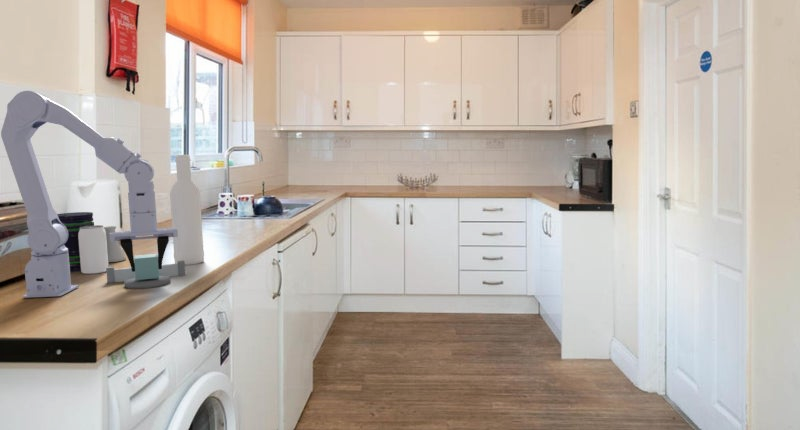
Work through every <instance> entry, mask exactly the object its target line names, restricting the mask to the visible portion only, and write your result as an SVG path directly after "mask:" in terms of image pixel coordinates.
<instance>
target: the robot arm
mask: <svg viewBox="0 0 800 430" xmlns="http://www.w3.org/2000/svg"><path fill="white" fill-rule="evenodd" d="M6 105H7V106H6V114H5V117H4V121H3V124H2V128H1V132H0V137H1V139H2V143H3V147H4V148H5V151H6V154H7V158H8V160H9V161H8V162H9V164H10V166H11V169H12V172H13V175H14V179H15V181H16V183H17V187H18V190H19V194H20V196H21V199H22V201H23V202H22V203H23V205H24V209H25V211H26V215H27V216H26V227H27V229H28V234H27V245H28V246H29V248H30V249H31V251H30V255H31V258H30V260H29V261H28V262H27V263H26V264H25V267H24V276H25V277H24V278H25V288H26V289H25V290H26V294H23V295H22V298H24V299H25V298H27V299H29V298H47V297H49V298H50V297H62V296H63V295H65V294H68V293H69V292H71V291H73V290H75V289H77V288H79V287H80V285H79V284H72V278H71V272H70V264H69V253H68V248H66V247H65V245H64V244H65V243H66V241H67V240H68V235H69V234H68V230H67V228H66V227H65V226H64V225H63V224H62V223H61V222H60V220H59V217H58V215H57V214H58V213H57V211H55V209H54V207H53V205H52V201H51V199H50V196H49V193H48V190H47V187H46V184H45V180H44V177H43V175H42V171H41V169H40V165H39V162H38V160H37V155H36V154H35V151H34V150H35V149H34V147H33V145H32V140H31V139H32V138H33V136H34V134H35V133H36V132H37V130H38V129H39V128H40V127H41V126H43V125H45V124H46V123H49V124H50V123H51V124H53V125H59V126H62V127H64V128H65V129H66V130H69V132H71V133H72V134H74V135H75V136H76V137H78V138H79V139H81V140H82V141H84V142H85V143H86V144H88V145H89V146H91V147H93V148H94V151H95V152H94V153H95V157H96V158H98V159H99V160H100V161H102V162H103V163H104V164H106V165H108V167H110V168H111V169H112V170H114V171H116V172H117V173H118V174H119V175H120V174H123V175H124V177H125V180H126V181H127V182H128V183H127V184H128V194H127V195H128V196H127V199H128V209H129V210H128V212H129V225H130V230H126V231H115V232H113V233H110V242H115V241H118V242H119V245H120V247H121V249H122V251H123V252H124V253H125V255H126V258H127V259H128V261H129V264H130V268H131V269H132V272H135V262H134V249H133V248H134V245H133V241H135V240H137V241H138V240H149V239H156V245H157V256H158V268H159V269H162V265H163V260H164V255H165V252H166V249H167V247H168V244H169V240H170V238H173V237H178V229H177V228H172V227H170V228H158V219H157V206H156V205H157V203H156V192H155V190H154V189H155V184H154V181H152V180H153V178H154V176H155V170H154V167H153V165H152V164H151V163H150V162H149V161H148V160H146V159H141V158H142V155H141V154H140V153H139V152H138V153H136V152H134V151H133V150H132V149H130V148H129V147H128V146H126V145H125V144H124V141H123V139H121V138H117V139H116V138H115V137H114V136H108V137H107V136H106V137H104V136H102V135H101V133H99V132H98V131H96V130H94V129H95V128H93V127H92V126H90V125H89V124H87V122H85V121H84V120H82V119H81V118H79V116H77V115H76V114H74V112H72V111H71V110H69V108H66V107H65V106H63V105H61V104H59V103H58V102H55V101H53V100H51V98H49V97H47V96H46V95H43V94H39V92H35V91H32V90H23V91H20V92H18V93H16V94H15V95H14V96H13V98H12V99H11V100H10V101H9V102H8V103H7V104H6Z"/></svg>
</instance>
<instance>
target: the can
mask: <svg viewBox="0 0 800 430" xmlns="http://www.w3.org/2000/svg"><path fill="white" fill-rule="evenodd" d="M78 239H79V252H80V264H81V271H80V272H81V273H82V274H83V275H98V274H103V273H107V271H106V267H109V262H108V254H107V241H106V231H105V229H104V225H95V224H94V226H84V227H80V230H79V233H78Z"/></svg>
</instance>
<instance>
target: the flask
mask: <svg viewBox="0 0 800 430" xmlns="http://www.w3.org/2000/svg"><path fill="white" fill-rule="evenodd" d="M103 228H104V230H105V231H106V241H107V254H108V263H118V262H121V261H125V260H127V256H125V255H126V254H124V253H125V252H124V250H123V248H122V246H121V244H120V242H119V241H115V242H110V233H113V232H116V229H117V226H114V225H110V226H103Z"/></svg>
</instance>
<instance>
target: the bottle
mask: <svg viewBox="0 0 800 430" xmlns="http://www.w3.org/2000/svg"><path fill="white" fill-rule="evenodd" d="M191 161H192V160H191V157H190V154H176V155H175V163H176V164H175V165H176V167H175V168H176V179H177V181H175V182H174V183H173V184H172V186H171V189H170V193H169V197H170V211H171V213H170V214H171V225H172V226H171V228H177V229H178V237H172V241H173V242H172V243H173V259H174V264H176V263H177V261H181V260H184V261H185V266H188V265H189V266H191V265H196V264H197V265H198V264H202V263H203V262H204V261H205V250H204V239H203V238H204V236H203V223H202V222H203V221H202V204H201V202H202V201H201V191H200V189H199V186H198V185H197V184H196V183H195V181H193V180H192V171H191V169H192V168H191ZM201 262H202V263H201Z"/></svg>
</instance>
